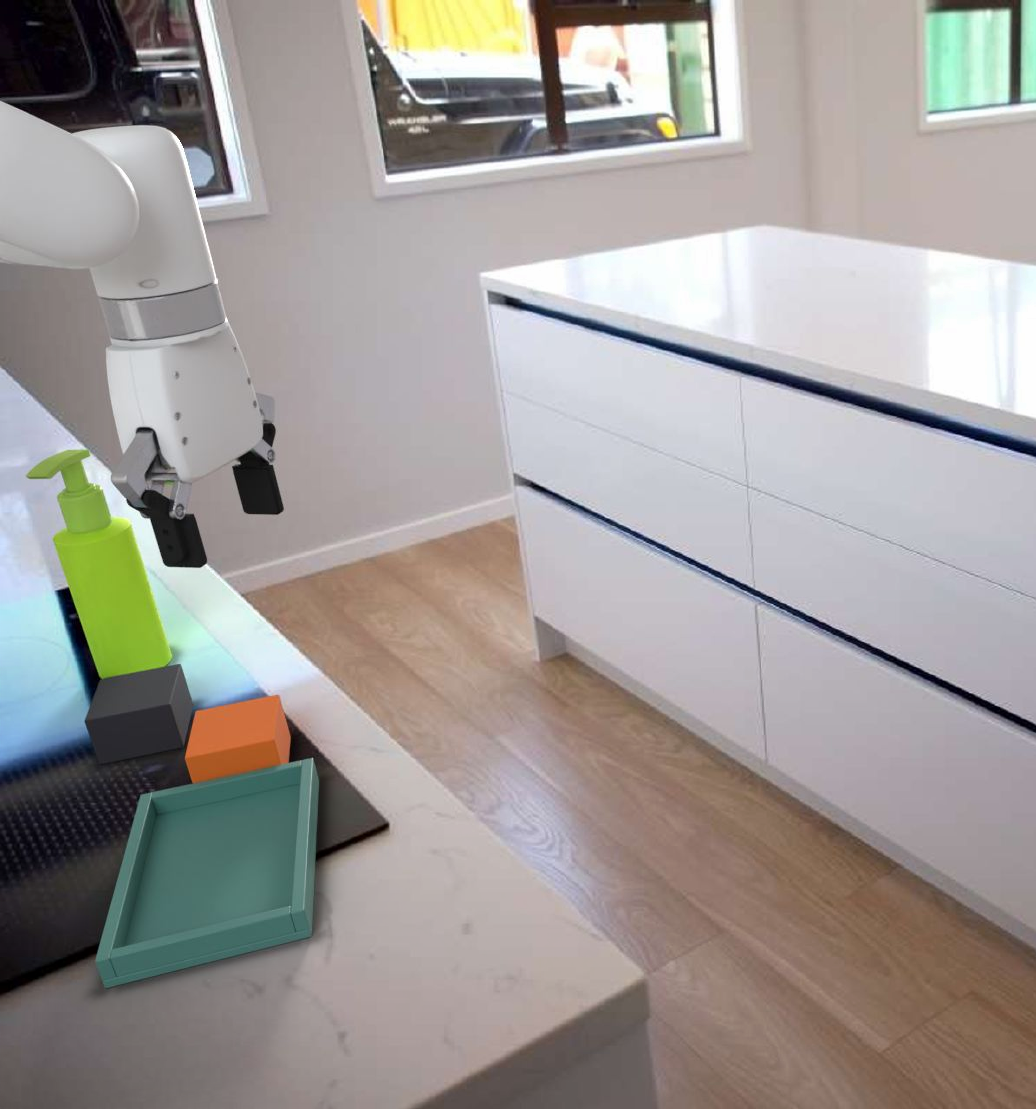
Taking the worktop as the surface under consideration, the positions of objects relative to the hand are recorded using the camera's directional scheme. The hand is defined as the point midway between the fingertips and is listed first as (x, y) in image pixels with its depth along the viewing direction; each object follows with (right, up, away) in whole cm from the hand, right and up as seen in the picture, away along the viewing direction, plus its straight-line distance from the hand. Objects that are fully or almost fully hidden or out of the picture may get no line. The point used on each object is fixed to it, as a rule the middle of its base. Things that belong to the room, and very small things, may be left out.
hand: (227, 538), depth 95 cm
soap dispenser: (-16, -11, +17) cm, 26 cm away
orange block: (+1, -18, +1) cm, 18 cm away
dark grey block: (-9, -16, +6) cm, 19 cm away
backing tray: (+5, -22, -11) cm, 26 cm away
